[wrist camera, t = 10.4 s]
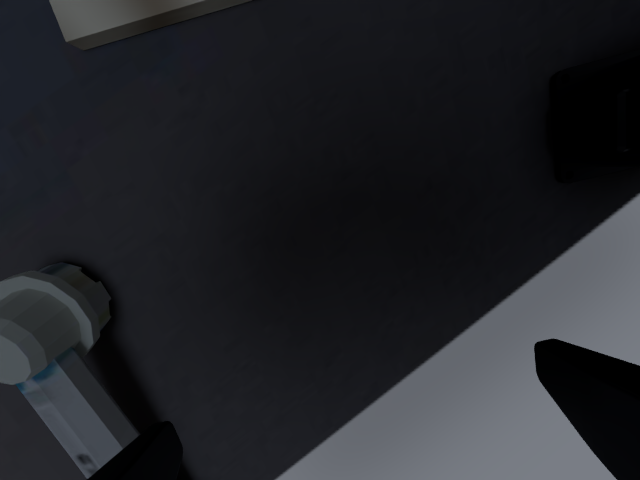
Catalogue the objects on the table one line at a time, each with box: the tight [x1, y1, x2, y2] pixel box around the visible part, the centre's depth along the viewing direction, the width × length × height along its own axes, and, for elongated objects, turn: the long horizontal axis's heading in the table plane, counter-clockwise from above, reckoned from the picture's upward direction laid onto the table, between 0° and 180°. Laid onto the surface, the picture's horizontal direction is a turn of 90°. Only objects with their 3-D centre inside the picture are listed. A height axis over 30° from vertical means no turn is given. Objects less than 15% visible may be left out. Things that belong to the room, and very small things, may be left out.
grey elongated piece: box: [0, 262, 140, 479], centre depth 21 cm, size 5×7×25 cm
